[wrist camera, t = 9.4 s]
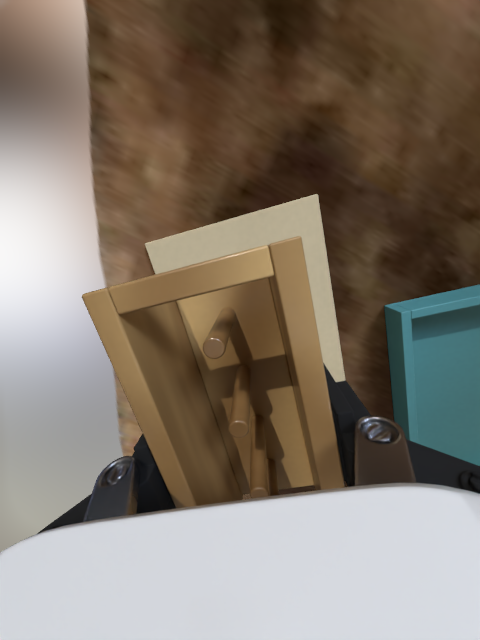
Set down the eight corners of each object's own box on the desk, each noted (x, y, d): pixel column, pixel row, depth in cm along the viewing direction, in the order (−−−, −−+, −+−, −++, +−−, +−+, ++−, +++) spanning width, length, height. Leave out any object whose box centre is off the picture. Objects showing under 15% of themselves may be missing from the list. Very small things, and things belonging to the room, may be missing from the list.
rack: (279, 242, 10) (301, 234, 5) (326, 478, 14) (364, 598, 9) (155, 275, 11) (79, 294, 6) (231, 492, 15) (220, 608, 10)
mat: (316, 194, 20) (317, 193, 19) (345, 391, 25) (347, 394, 25) (146, 243, 22) (144, 243, 21) (206, 416, 27) (206, 419, 27)
